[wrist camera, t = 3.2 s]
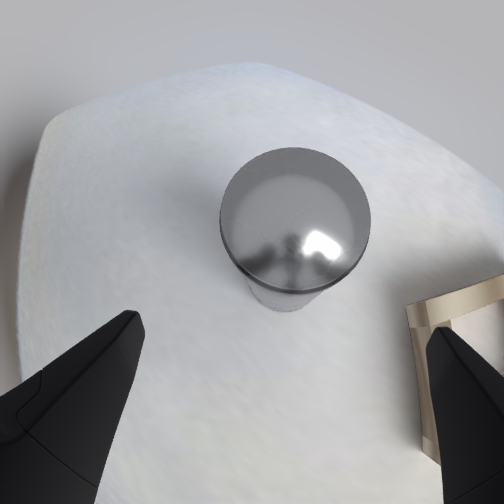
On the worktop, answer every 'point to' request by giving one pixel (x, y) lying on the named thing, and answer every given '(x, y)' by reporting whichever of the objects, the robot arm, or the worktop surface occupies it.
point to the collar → (421, 328)
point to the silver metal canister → (294, 225)
